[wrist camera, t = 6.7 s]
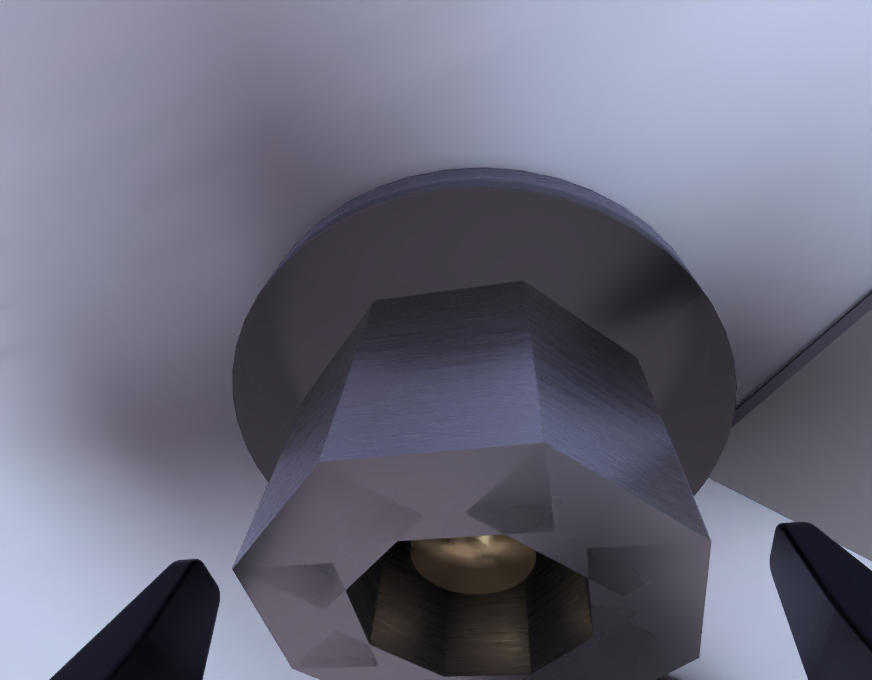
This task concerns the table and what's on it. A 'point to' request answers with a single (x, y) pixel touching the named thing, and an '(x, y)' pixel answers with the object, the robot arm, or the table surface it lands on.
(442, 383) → the ring
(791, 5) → the table surface
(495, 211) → the hub
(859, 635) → the robot arm
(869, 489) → the stand pad
